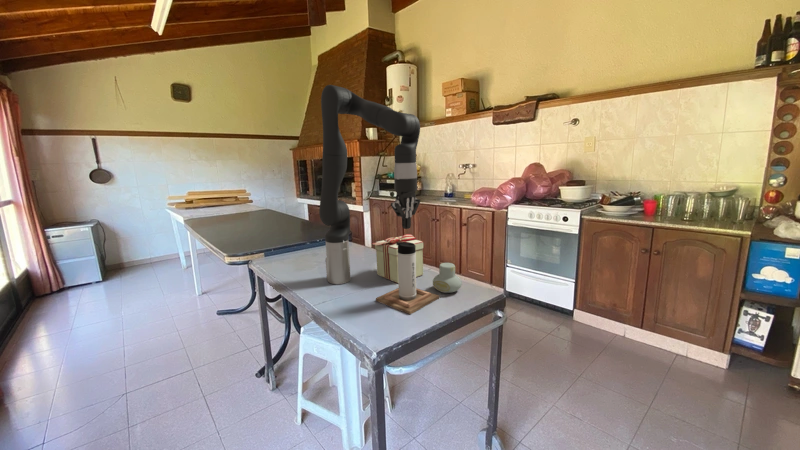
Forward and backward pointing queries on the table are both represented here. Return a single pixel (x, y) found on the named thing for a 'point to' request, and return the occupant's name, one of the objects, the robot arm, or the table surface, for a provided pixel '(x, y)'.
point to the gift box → (396, 256)
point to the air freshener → (447, 279)
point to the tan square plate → (407, 305)
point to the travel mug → (406, 270)
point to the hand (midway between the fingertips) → (406, 228)
